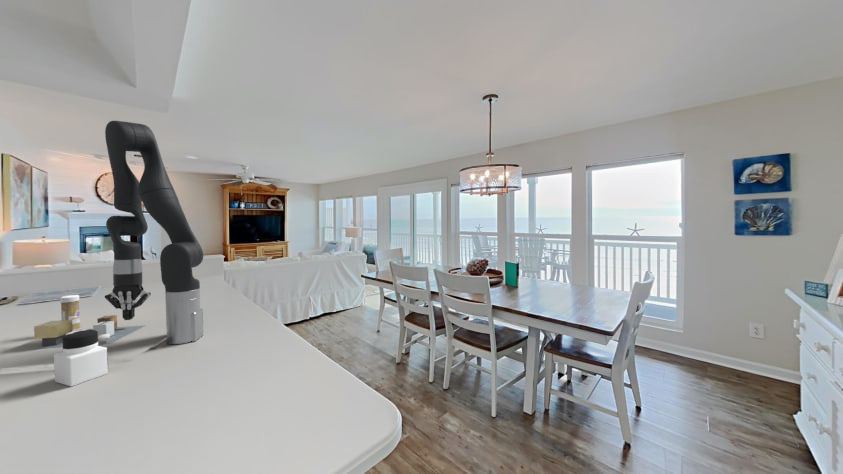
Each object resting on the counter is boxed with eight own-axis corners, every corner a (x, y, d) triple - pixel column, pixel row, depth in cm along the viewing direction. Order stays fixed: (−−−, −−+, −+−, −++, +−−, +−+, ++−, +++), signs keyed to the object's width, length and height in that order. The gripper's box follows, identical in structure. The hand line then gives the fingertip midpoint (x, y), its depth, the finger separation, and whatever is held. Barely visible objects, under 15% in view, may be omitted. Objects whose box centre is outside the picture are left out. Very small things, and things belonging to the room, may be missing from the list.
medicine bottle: (108, 373, 81) (107, 329, 80) (70, 387, 74) (68, 338, 73) (92, 369, 83) (91, 325, 82) (54, 382, 76) (52, 334, 76)
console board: (146, 329, 114) (146, 316, 114) (110, 348, 97) (109, 333, 97) (80, 333, 110) (79, 320, 109) (30, 354, 92) (29, 339, 92)
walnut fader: (117, 327, 111) (116, 314, 111) (110, 330, 108) (109, 317, 108) (105, 328, 110) (105, 315, 110) (97, 331, 107) (97, 318, 107)
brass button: (72, 331, 100) (72, 319, 100) (57, 337, 95) (56, 325, 94) (51, 332, 99) (50, 321, 98) (34, 338, 93) (34, 326, 93)
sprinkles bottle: (78, 333, 110) (76, 296, 109) (59, 335, 107) (57, 298, 107) (82, 329, 114) (81, 294, 113) (64, 332, 111) (63, 295, 111)
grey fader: (114, 334, 104) (113, 320, 104) (106, 337, 101) (106, 324, 101) (101, 335, 104) (101, 321, 103) (93, 338, 100) (93, 324, 100)
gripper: (156, 269, 115) (156, 315, 115) (112, 270, 111) (113, 317, 112) (144, 272, 107) (144, 321, 108) (97, 273, 104) (97, 324, 105)
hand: (128, 319), depth 110 cm, fingers closed
